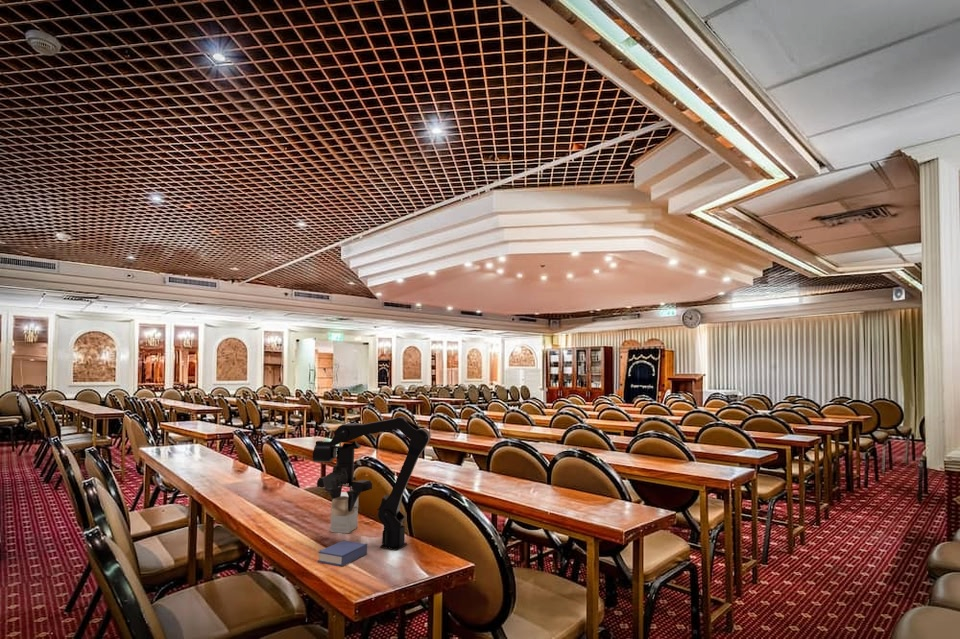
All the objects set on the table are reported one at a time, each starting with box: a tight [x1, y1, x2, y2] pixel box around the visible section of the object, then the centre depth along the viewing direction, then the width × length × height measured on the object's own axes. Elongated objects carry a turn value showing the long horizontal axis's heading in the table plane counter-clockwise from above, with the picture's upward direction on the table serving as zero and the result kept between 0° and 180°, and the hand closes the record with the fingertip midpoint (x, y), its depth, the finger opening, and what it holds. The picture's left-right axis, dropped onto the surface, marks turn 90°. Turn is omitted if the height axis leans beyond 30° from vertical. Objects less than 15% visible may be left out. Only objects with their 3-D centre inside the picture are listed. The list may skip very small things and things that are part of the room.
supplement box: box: [329, 491, 360, 534], centre depth 186 cm, size 7×7×13 cm
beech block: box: [331, 496, 354, 516], centre depth 170 cm, size 5×5×5 cm
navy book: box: [317, 539, 368, 567], centre depth 156 cm, size 9×12×3 cm
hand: (343, 510), depth 170 cm, fingers closed on beech block, 5 cm apart
